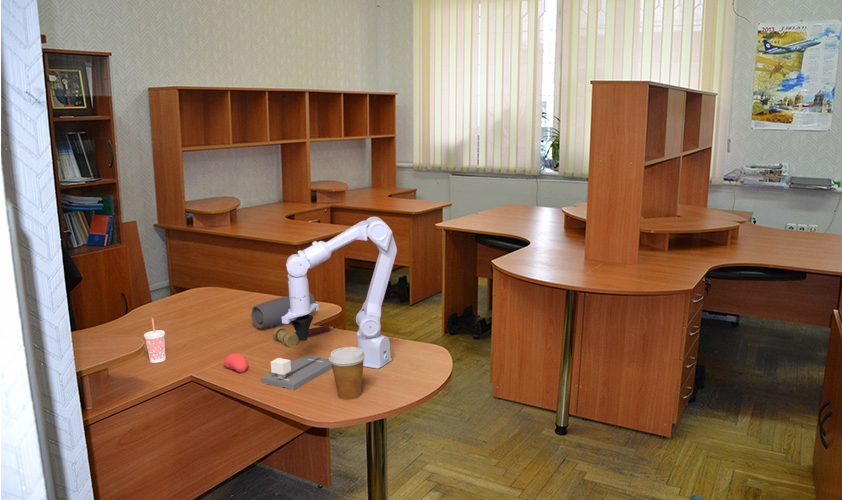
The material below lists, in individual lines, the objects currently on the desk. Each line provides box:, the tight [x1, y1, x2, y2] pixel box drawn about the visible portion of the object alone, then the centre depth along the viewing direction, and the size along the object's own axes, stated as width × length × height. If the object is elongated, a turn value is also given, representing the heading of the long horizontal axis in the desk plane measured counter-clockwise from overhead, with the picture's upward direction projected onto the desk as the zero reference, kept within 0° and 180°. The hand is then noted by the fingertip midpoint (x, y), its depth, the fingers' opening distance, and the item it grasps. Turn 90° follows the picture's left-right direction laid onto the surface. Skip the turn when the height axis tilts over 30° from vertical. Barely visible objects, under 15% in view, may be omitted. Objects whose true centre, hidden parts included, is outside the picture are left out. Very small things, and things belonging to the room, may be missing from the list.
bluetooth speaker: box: [250, 291, 317, 329], centre depth 237 cm, size 23×9×10 cm, turn 136°
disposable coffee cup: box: [328, 346, 365, 400], centre depth 173 cm, size 10×10×12 cm
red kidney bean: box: [223, 352, 249, 373], centre depth 195 cm, size 5×9×6 cm
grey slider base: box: [260, 354, 332, 390], centre depth 189 cm, size 12×20×2 cm, turn 151°
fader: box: [270, 357, 291, 379], centre depth 182 cm, size 4×3×5 cm
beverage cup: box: [143, 317, 166, 364], centre depth 204 cm, size 6×6×14 cm
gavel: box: [272, 325, 334, 348], centre depth 222 cm, size 21×5×10 cm
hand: (303, 340), depth 190 cm, fingers closed
